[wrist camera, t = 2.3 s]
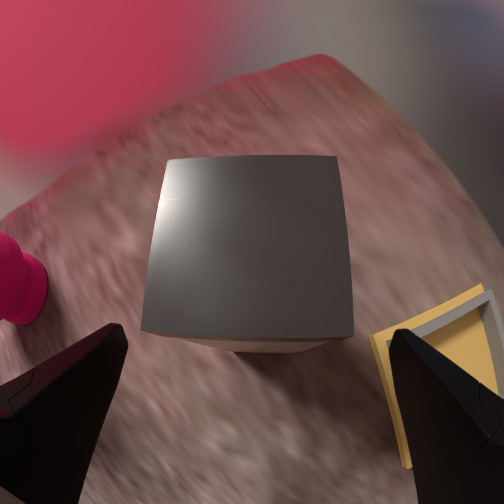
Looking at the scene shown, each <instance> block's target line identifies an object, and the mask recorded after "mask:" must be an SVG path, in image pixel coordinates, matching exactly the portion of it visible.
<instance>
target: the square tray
mask: <svg viewBox="0 0 504 504" xmlns="http://www.w3.org/2000/svg"><path fill="white" fill-rule="evenodd" d="M403 328H407V329H409V330H410V331H412V332H413V333H414V334H416V335H417V336H419V337H420V338H421V339H423V340H424V341H425V342H427V343H428V344H430V345H431V346H432V347H434V348H435V349H436V350H438V351H439V352H441V353H442V354H443V355H445V356H446V357H447V358H449V359H450V360H451V361H453V362H454V363H455V364H457V365H458V366H459V367H461V368H462V369H463V370H465V371H466V372H467V373H469V374H470V375H471V376H473V377H474V378H475V379H477V380H478V381H479V383H480V382H481V383H482V384H483V385H485V386H486V387H487V388H489V389H490V390H491V391H493V392H494V393H495V394H497V395H498V396H500V397H501V398H503V399H504V327H503V324H502V320H501V317H500V313H499V310H498V307H497V303H496V300H495V297H494V294H493V291H492V288H491V289H489V290H487V291H485V292H484V289H483V286H482V284H479V285H477V286H475V287H473V288H471V289H470V290H468V291H466V292H464V293H462V294H460V295H458V296H456V297H455V298H453V299H451V300H449V301H447V302H445V303H443V304H441V305H439V306H437V307H435V308H432V309H430V310H428V311H426V312H424V313H422V314H420V315H418V316H415V317H413V318H411V319H409V320H407V321H404V322H402V323H400V324H397V325H395V326H393V327H390V328H388V329H386V330H383V331H381V332H378V333H376V334H373V335H371V336H368V337H369V340H370V343H371V346H372V349H373V353H374V356H375V359H376V363H377V366H378V369H379V373H380V376H381V380H382V384H383V387H384V391H385V395H386V398H387V402H388V406H389V410H390V414H391V418H392V422H393V426H394V431H395V435H396V439H397V444H398V449H399V453H400V458H401V463H402V466H403V467H405V468H406V469H407V470H408V469H410V468H412V463H411V458H410V453H409V448H408V443H407V439H406V435H405V430H404V426H403V422H402V418H401V414H400V410H399V406H398V402H397V399H396V394H395V389H394V383H393V377H392V371H391V365H390V359H389V346H390V343H391V340H392V337H393V334H394V331H395V330H396V329H403Z"/></svg>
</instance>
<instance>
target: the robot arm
mask: <svg viewBox="0 0 504 504" xmlns="http://www.w3.org/2000/svg"><path fill="white" fill-rule="evenodd" d="M127 350H128V341H127V338H126V335H125V332H124V330H123V327H122V325H121V324H117V323H109V324H107V325H106V326H104V327H102V328H100V329H99V330H97V331H95V332H94V333H92V334H90V335H88V336H87V337H85V338H83V339H82V340H80V341H78V342H77V343H75V344H73V345H71V346H70V347H68V348H66V349H65V350H63V351H61V352H59V353H58V354H56V355H54V356H53V357H51V358H49V359H48V360H46V361H44V362H43V363H41V364H39V365H37V366H36V367H35V368H32V369H31V370H29V371H27V372H26V373H24V374H22V375H20V376H19V377H17V378H15V379H13V380H11V381H9V382H7V383H5V384H3V385H1V386H0V504H78V502H79V498H80V495H81V491H82V488H83V485H84V481H85V477H86V474H87V471H88V467H89V464H90V461H91V458H92V455H93V452H94V449H95V446H96V443H97V440H98V437H99V434H100V431H101V428H102V426H103V423H104V420H105V417H106V415H107V412H108V409H109V406H110V404H111V401H112V398H113V396H114V393H115V391H116V388H117V385H118V382H119V379H120V375H121V371H122V368H123V364H124V361H125V357H126V354H127ZM389 359H390V365H391V371H392V377H393V383H394V389H395V394H396V399H397V402H398V406H399V410H400V414H401V418H402V422H403V426H404V430H405V435H406V439H407V443H408V448H409V453H410V458H411V463H412V468H413V473H414V479H415V484H416V490H417V497H418V504H504V399H503V398H501V397H500V396H498V395H497V394H495V393H494V392H493V391H491V390H490V389H489V388H487V387H486V386H485V385H483V384H482V383H481V382H480V383H479V381H478V380H477V379H475V378H474V377H473V376H471V375H470V374H469V373H467V372H466V371H465V370H463V369H462V368H461V367H459V366H458V365H457V364H455V363H454V362H453V361H451V360H450V359H449V358H447V357H446V356H445V355H443V354H442V353H441V352H439V351H438V350H436V349H435V348H434V347H432V346H431V345H430V344H428V343H427V342H425V341H424V340H423V339H421V338H420V337H419V336H417V335H416V334H414V333H413V332H412V331H410V330H409V329H407V328H403V329H396V330H395V331H394V334H393V337H392V340H391V343H390V346H389Z"/></svg>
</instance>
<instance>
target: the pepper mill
mask: <svg viewBox="0 0 504 504" xmlns="http://www.w3.org/2000/svg"><path fill="white" fill-rule="evenodd" d="M46 294H47V275H46V272H45V269H44V267H43V265H42V263H41V262H40V261H39V260H37V259H36V258H34V257H32V256H30V255H29V254H27V253H24V252H21V249H20V247H19V245H18V244H17V242H16V241H15V240H14V239H13V238H12V237H10V236H8V235H6V234H4V233H2V232H0V320H2V319H5V320H7V321H9V322H12V323H15V324H19V325H26V324H29V323H31V322H32V321H33V320H34V319H35V318H36V317H37V316H38V314H39V313H40V311H41V309H42V307H43V305H44V301H45V298H46Z"/></svg>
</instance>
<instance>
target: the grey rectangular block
mask: <svg viewBox="0 0 504 504" xmlns="http://www.w3.org/2000/svg"><path fill="white" fill-rule="evenodd" d="M141 331H145V332H148V333H152V334H156V335H159V336H165V337H175V338H179V339H183V340H186V341H190V342H194V343H198V344H202V345H206V346H210V347H214V348H218V349H223V350H227V351H231V352H250V353H299V352H302V351H305V350H308V349H311V348H314V347H317V346H319V345H322V344H325V343H328V342H331V341H341V340H344V339H347V338H350V337H353V336H354V319H353V297H352V280H351V267H350V255H349V244H348V234H347V225H346V216H345V208H344V201H343V193H342V186H341V180H340V173H339V167H338V161H337V156H315V155H246V156H220V157H203V158H188V159H176V160H168V163H167V168H166V172H165V176H164V181H163V186H162V190H161V195H160V200H159V205H158V210H157V215H156V221H155V226H154V232H153V238H152V244H151V250H150V257H149V263H148V270H147V278H146V285H145V294H144V302H143V312H142V322H141Z"/></svg>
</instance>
